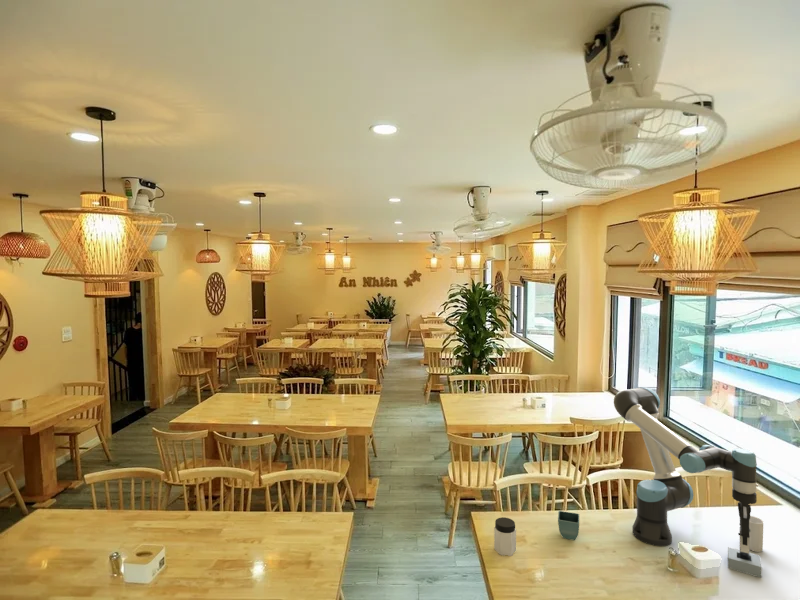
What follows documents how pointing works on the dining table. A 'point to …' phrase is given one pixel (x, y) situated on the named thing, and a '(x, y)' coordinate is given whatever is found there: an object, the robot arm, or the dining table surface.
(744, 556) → the peg
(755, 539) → the beige oval cylinder
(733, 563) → the socket block
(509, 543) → the jar
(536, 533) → the dining table surface
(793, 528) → the dining table surface
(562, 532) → the flower pot
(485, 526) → the dining table surface
